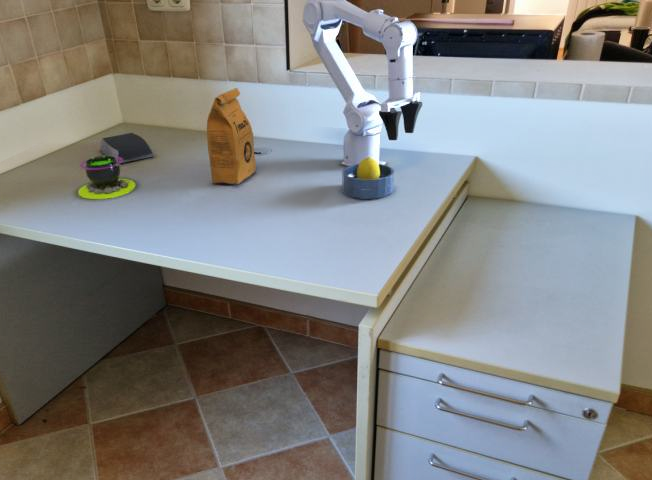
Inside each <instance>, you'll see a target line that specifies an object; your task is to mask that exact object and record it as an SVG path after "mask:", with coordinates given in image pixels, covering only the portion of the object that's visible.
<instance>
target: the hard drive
mask: <svg viewBox="0 0 652 480" xmlns="http://www.w3.org/2000/svg"><path fill="white" fill-rule="evenodd" d="M103 145H104V146H103ZM99 149H102V150H100V152H101V154H103V156H114V157H115V156H116V157H117V156H118V157H119V158H120V159H121V158H122V159H123V161H121V160H120V161H121V163H120V164H123V163H129V162H132V161H138V160H143V159H147V158H153V157H155V154H154V152H153V150H152V148H151V147H150V145H149V144H148V143H147V141H146V140H145V139H144V138H143V137H141V136H140V135H139V134H136V133H134V132H129V133H124V134H118V135H113V136H112V135H111V136H107V137H101V139H100V143H99ZM107 149H108V150H107ZM110 149H111V150H110ZM112 150H113V151H112ZM116 157H115V158H116ZM116 161H117V162H120V161H119V159H117V158H116Z"/></svg>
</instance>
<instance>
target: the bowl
mask: <svg viewBox="0 0 652 480" xmlns="http://www.w3.org/2000/svg"><path fill="white" fill-rule="evenodd" d="M378 165H379V169H380V177H379V178H378V179H357V169H358V166H359V164H356V165H351V166H346V167H345V168H343V169H342V171H341V190H342V192H343V193H344V195H346V196H348V197H350V198H354V199H358V200H359V199H360V200H374V199H381V198H384V197H386V196H388V195H390V194H391V193H393V191H394V186H395V185H394V183H395V169H394V168H393V167H391V166H389V165H387V164H384V165H383V164H378Z"/></svg>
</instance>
